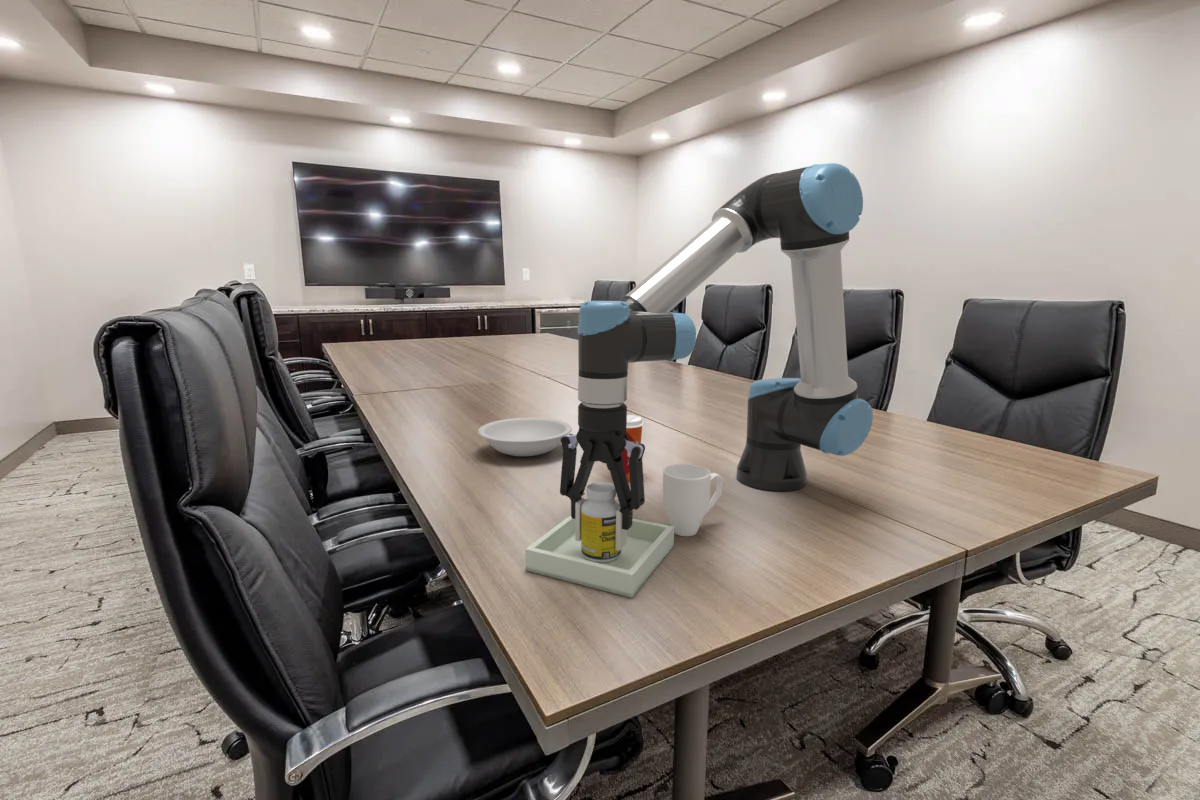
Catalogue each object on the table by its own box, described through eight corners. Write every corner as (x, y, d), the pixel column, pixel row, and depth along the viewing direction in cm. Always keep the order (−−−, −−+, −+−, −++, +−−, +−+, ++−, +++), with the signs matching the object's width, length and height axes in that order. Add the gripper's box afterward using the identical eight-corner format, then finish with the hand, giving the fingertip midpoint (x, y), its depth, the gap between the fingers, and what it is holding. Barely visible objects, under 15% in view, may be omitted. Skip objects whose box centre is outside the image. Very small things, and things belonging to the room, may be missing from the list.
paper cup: (640, 484, 127) (641, 423, 124) (606, 482, 128) (606, 421, 125) (644, 472, 134) (645, 414, 131) (612, 470, 136) (612, 413, 133)
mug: (679, 545, 98) (681, 482, 96) (652, 527, 105) (654, 467, 103) (734, 531, 103) (737, 471, 101) (705, 515, 111) (708, 458, 108)
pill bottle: (592, 567, 89) (592, 497, 87) (574, 550, 95) (574, 484, 92) (628, 558, 92) (629, 490, 90) (609, 542, 98) (609, 477, 95)
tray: (673, 546, 98) (674, 526, 97) (632, 598, 82) (632, 575, 81) (580, 526, 106) (579, 508, 105) (525, 570, 90) (525, 549, 89)
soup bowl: (589, 456, 147) (589, 431, 146) (503, 474, 134) (502, 446, 132) (544, 435, 166) (543, 413, 165) (465, 449, 153) (463, 425, 152)
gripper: (670, 404, 87) (665, 545, 92) (559, 392, 96) (560, 522, 100) (653, 414, 81) (648, 565, 86) (535, 400, 89) (537, 539, 94)
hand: (600, 541), depth 93 cm, fingers closed on pill bottle, 6 cm apart
